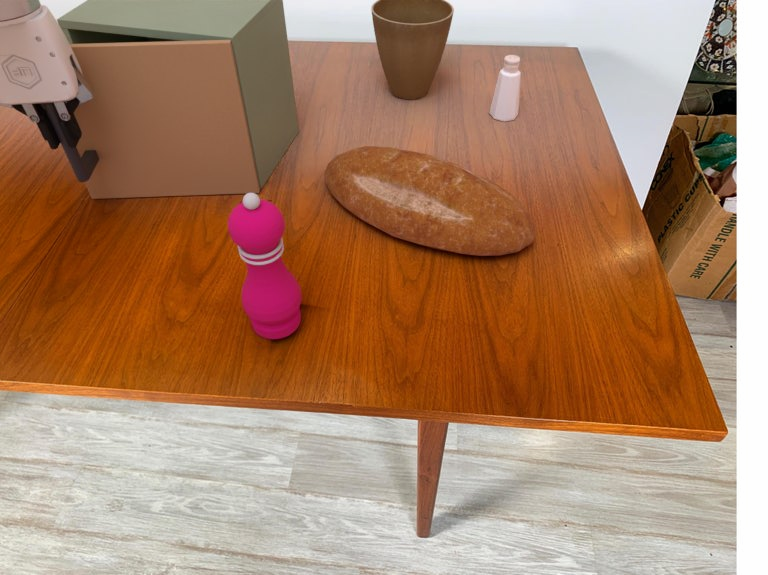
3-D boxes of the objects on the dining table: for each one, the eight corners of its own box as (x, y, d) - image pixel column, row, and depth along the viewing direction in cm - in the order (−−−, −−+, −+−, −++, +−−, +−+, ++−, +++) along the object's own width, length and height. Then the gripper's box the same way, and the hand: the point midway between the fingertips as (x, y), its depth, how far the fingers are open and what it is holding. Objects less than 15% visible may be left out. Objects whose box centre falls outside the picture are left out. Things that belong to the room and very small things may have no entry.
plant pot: (441, 113, 110) (447, 27, 98) (364, 104, 112) (362, 20, 101) (452, 77, 120) (459, -5, 109) (382, 70, 122) (381, -11, 111)
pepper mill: (301, 343, 72) (280, 216, 57) (243, 342, 72) (207, 216, 57) (307, 300, 77) (289, 174, 62) (253, 299, 77) (222, 173, 62)
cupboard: (261, 189, 94) (232, 37, 76) (115, 167, 98) (56, 19, 81) (299, 131, 106) (281, -11, 88) (167, 114, 110) (126, -25, 93)
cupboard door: (255, 216, 89) (223, 62, 71) (80, 222, 88) (4, 69, 70) (260, 189, 93) (230, 39, 76) (93, 195, 93) (25, 45, 75)
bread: (503, 289, 78) (513, 239, 71) (296, 202, 91) (289, 154, 85) (552, 219, 88) (564, 169, 82) (359, 150, 101) (357, 103, 95)
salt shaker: (517, 108, 111) (527, 51, 103) (518, 122, 107) (529, 65, 99) (488, 106, 112) (496, 50, 104) (489, 121, 108) (497, 63, 100)
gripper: (-88, 17, 62) (-4, 163, 75) (64, 10, 63) (120, 154, 77) (-59, -8, 67) (15, 132, 81) (81, -15, 69) (131, 124, 82)
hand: (66, 142), depth 79 cm, fingers closed on cupboard door
